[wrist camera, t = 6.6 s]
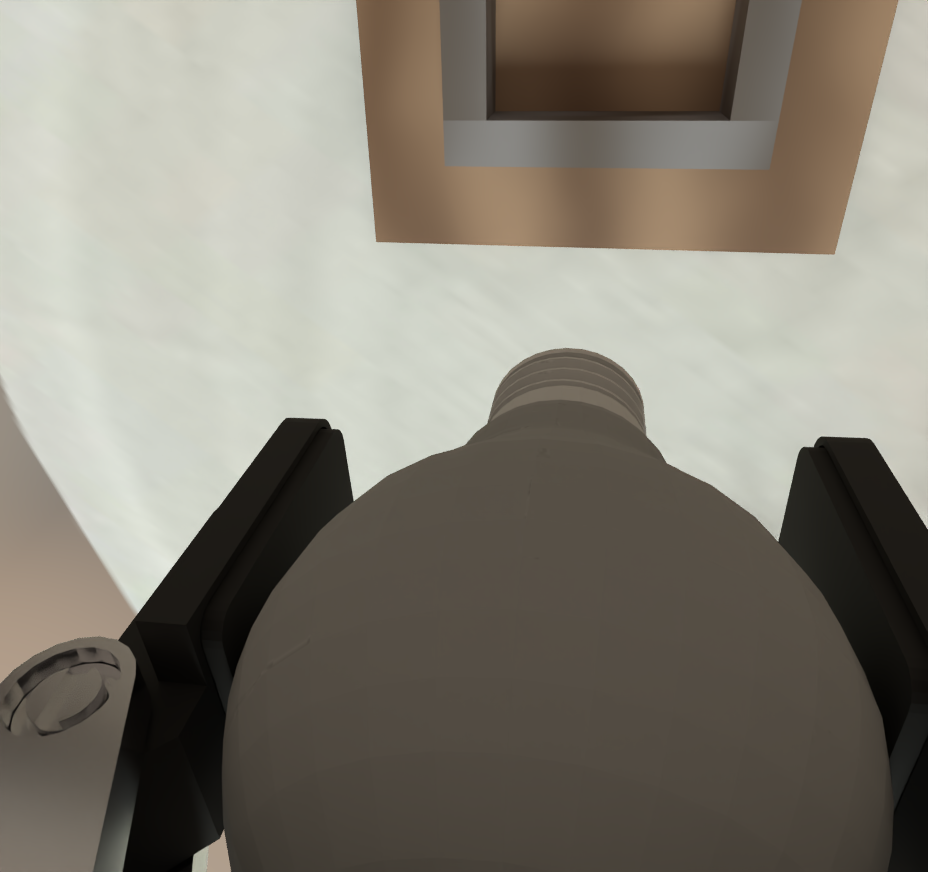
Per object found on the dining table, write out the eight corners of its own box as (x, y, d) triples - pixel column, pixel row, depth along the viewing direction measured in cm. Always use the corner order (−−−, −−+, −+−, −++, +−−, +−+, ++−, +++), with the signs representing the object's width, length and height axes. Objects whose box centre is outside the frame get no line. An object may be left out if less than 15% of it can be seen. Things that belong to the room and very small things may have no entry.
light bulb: (456, 547, 15) (275, 1232, 7) (362, 280, 12) (-148, 879, 4) (756, 513, 14) (1012, 1364, 5) (724, 197, 11) (1179, 921, 2)
